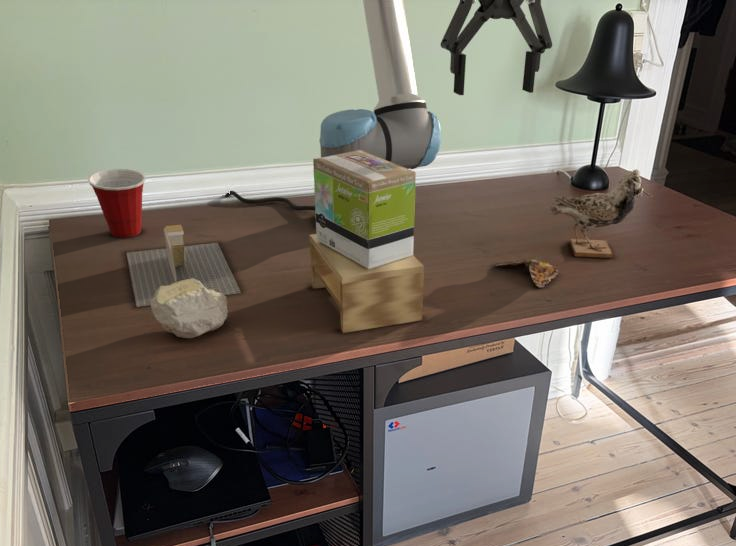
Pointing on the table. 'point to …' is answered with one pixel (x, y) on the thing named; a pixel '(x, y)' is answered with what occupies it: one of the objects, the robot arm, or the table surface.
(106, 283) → the table surface
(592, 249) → the stuffed bird
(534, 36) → the robot arm
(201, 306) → the white rock
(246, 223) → the table surface
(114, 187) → the plastic cup
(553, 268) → the butterfly model
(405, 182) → the tea box
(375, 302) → the birch shelf
